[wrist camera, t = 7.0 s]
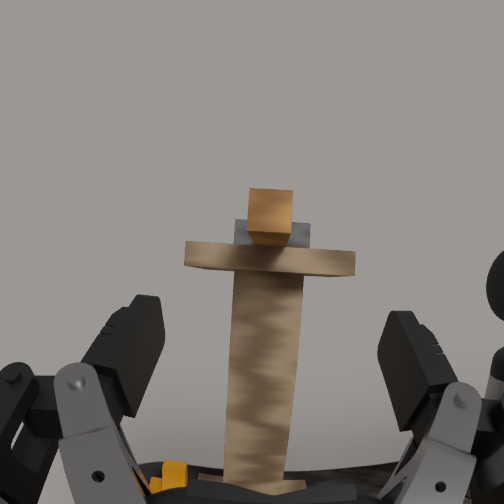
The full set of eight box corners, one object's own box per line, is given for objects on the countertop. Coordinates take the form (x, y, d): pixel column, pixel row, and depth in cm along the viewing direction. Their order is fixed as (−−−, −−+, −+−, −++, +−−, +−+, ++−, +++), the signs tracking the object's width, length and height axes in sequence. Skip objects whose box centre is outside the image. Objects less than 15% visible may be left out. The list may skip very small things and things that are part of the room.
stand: (303, 487, 32) (330, 259, 35) (311, 534, 22) (355, 251, 25) (199, 480, 33) (207, 251, 35) (183, 526, 23) (185, 241, 25)
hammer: (305, 258, 36) (306, 228, 36) (338, 236, 17) (339, 177, 18) (236, 254, 37) (239, 224, 37) (199, 228, 18) (205, 171, 18)
